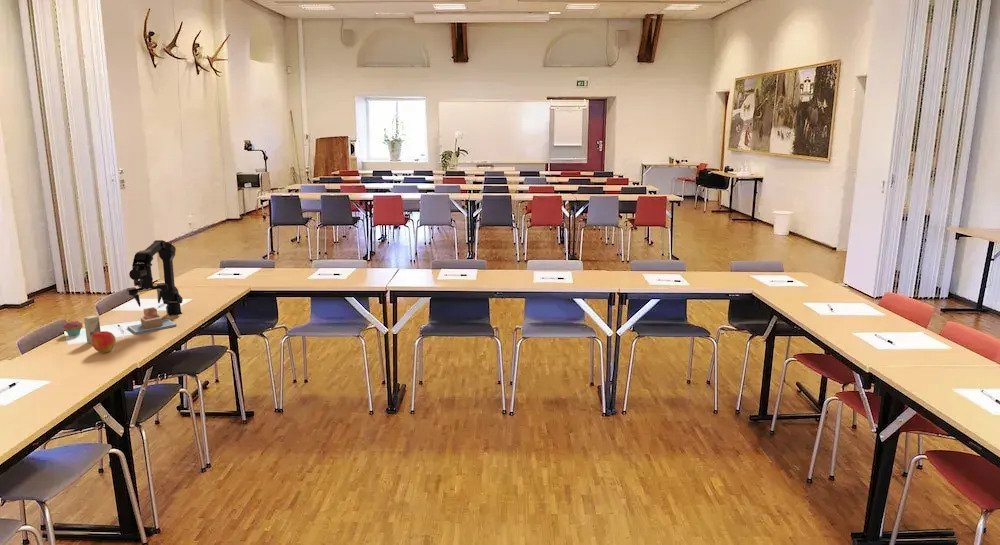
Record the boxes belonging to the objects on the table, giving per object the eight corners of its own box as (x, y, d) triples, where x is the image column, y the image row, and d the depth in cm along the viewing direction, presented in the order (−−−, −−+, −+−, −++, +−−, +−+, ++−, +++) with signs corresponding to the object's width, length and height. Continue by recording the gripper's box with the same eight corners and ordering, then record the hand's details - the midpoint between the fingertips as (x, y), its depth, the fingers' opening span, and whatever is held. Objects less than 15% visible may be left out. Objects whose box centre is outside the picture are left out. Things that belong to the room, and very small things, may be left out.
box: (91, 344, 323) (87, 318, 320) (86, 342, 325) (83, 317, 323) (102, 341, 327) (99, 316, 325) (97, 339, 330) (94, 314, 327)
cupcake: (74, 338, 332) (70, 315, 330) (60, 336, 334) (56, 314, 331) (87, 332, 341) (84, 310, 338) (73, 331, 342) (70, 309, 340)
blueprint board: (168, 320, 361) (166, 310, 360) (176, 326, 351) (175, 315, 350) (127, 328, 348) (126, 317, 346) (135, 334, 338) (133, 323, 336)
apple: (105, 355, 307) (103, 335, 304) (88, 354, 308) (85, 334, 306) (121, 349, 316) (118, 329, 314) (104, 347, 318) (101, 327, 315)
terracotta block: (154, 316, 352) (153, 307, 351) (157, 318, 348) (156, 309, 347) (144, 318, 348) (143, 309, 347) (147, 320, 345) (146, 310, 344)
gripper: (160, 270, 355) (163, 298, 358) (121, 276, 343) (125, 305, 346) (166, 274, 347) (170, 302, 350) (127, 279, 335) (131, 309, 338)
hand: (149, 304), depth 346 cm, fingers open, 9 cm apart
